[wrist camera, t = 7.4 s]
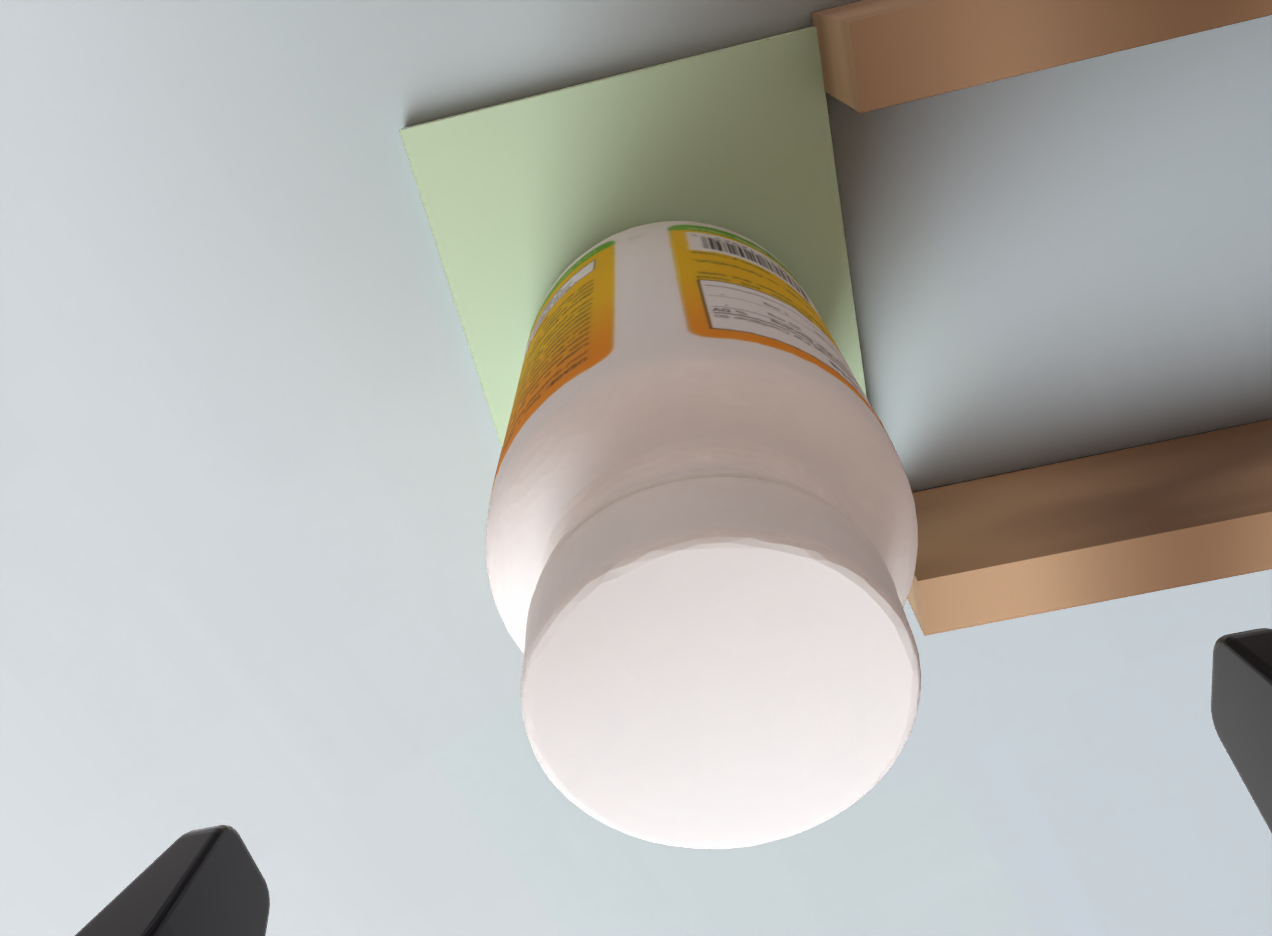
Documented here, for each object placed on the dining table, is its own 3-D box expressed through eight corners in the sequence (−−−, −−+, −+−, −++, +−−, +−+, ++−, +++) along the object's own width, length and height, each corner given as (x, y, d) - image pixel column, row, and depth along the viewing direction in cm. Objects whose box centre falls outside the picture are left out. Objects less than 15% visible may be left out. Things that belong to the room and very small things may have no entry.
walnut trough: (1458, -149, 15) (1636, -174, 13) (1386, 448, 20) (1506, 523, 17) (811, 12, 16) (849, 21, 13) (885, 549, 21) (924, 635, 18)
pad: (813, 26, 16) (816, 27, 16) (884, 541, 21) (887, 548, 20) (402, 128, 17) (399, 130, 17) (556, 607, 21) (555, 615, 21)
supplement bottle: (569, 514, 20) (530, 937, 11) (492, 253, 18) (366, 535, 9) (837, 458, 19) (1014, 856, 11) (796, 183, 17) (977, 407, 8)
